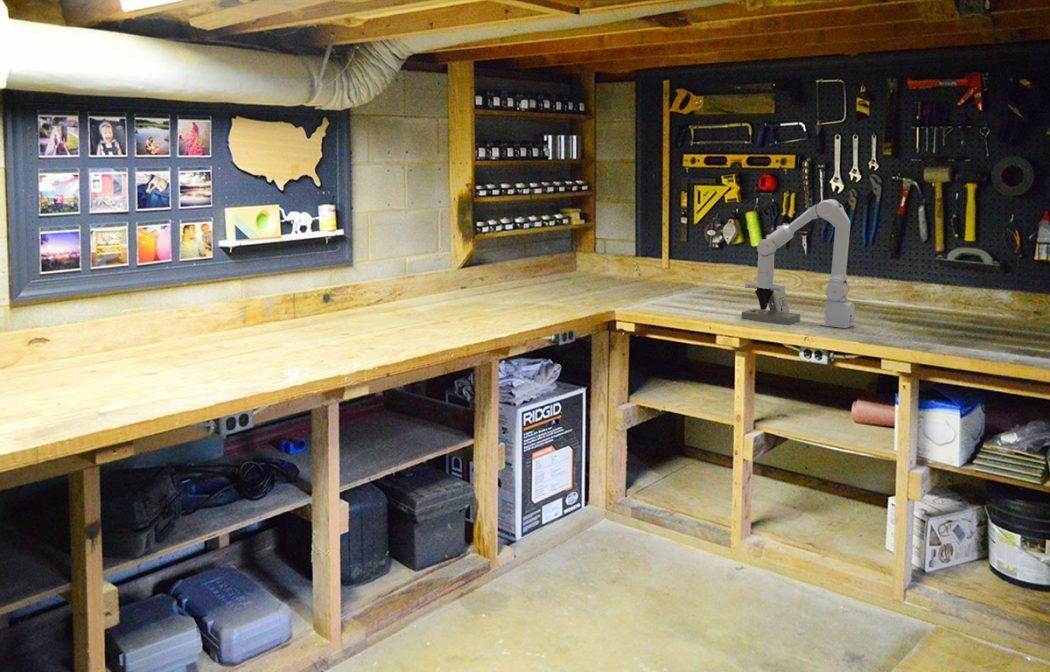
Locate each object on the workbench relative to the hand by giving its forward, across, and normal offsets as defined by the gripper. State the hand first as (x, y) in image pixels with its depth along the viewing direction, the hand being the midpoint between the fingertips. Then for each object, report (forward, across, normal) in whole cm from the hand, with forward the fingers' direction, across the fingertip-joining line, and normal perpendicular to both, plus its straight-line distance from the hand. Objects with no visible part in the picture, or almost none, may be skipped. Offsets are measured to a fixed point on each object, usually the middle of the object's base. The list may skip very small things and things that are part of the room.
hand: (763, 309), depth 346 cm
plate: (+3, -3, 0) cm, 5 cm away
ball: (+2, +2, 0) cm, 2 cm away
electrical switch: (+4, +1, -14) cm, 15 cm away
